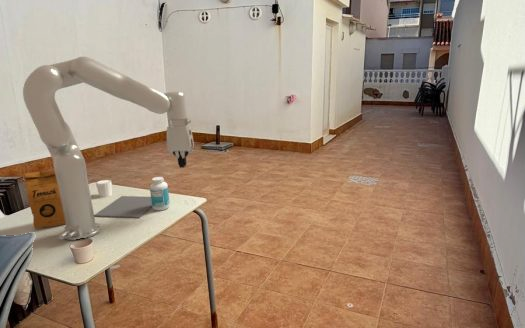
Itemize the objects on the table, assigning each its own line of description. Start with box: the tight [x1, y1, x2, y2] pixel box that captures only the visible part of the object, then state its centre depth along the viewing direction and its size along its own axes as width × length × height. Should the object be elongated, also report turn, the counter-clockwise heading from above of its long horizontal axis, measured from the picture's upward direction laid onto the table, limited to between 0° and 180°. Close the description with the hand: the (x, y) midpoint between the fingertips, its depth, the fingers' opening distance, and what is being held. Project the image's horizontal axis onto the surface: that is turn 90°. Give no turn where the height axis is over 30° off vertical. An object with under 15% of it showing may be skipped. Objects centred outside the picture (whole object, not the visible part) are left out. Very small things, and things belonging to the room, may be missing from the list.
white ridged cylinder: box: [95, 179, 113, 198], centre depth 165 cm, size 7×7×7 cm
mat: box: [94, 195, 152, 219], centre depth 151 cm, size 22×20×1 cm
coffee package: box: [23, 169, 66, 230], centre depth 133 cm, size 10×12×22 cm
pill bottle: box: [149, 176, 171, 212], centre depth 147 cm, size 8×7×14 cm
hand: (182, 166), depth 142 cm, fingers closed
